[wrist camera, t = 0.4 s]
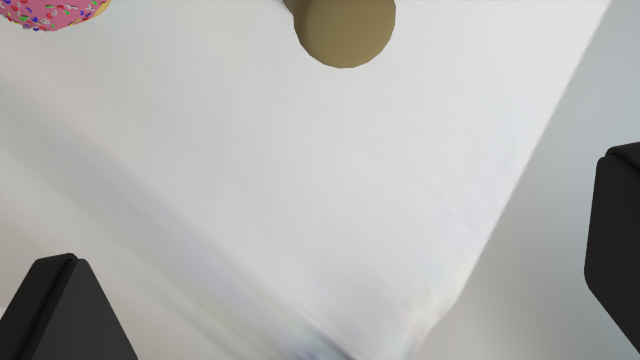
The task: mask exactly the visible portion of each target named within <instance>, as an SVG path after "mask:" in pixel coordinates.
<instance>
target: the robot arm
mask: <svg viewBox="0 0 640 360" xmlns="http://www.w3.org/2000/svg"><path fill="white" fill-rule="evenodd" d="M584 275H585V280H586V283H587V285H588V287H589V289H590V290H591V292H592V293H593V294H594V296H595V297H596V298H597V300H598V301H599V302H600V303H601V304H602V306H603V307H604V309H605V310H606V311H607V312H608V314H609V315H610V316H611V318H612V319H613V320H614V321H615V323H616V324H617V325H618V327H619V328H620V329H621V330H622V332H623V333H624V334H625V336H626V337H627V338H628V339H629V341H630V342H631V343H632V345H633V346H634V347H635V348H636V350H637V351H638V352H639V354H640V142H635V143H630V144H625V145H620V146H615V147H611V148H609V149H608V150H607V152H606V154H605V157H601V158H600V159H599V160H598V162H597V167H596V176H595V183H594V192H593V200H592V209H591V217H590V225H589V233H588V241H587V250H586V258H585V266H584ZM0 360H138V358H137V355H136V354H135V352H134V350H133V348H132V346H131V344H130V342H129V340H128V338H127V336H126V334H125V332H124V330H123V328H122V327H121V325H120V323H119V321H118V319H117V317H116V315H115V313H114V311H113V309H112V307H111V305H110V303H109V301H108V300H107V298H106V296H105V294H104V292H103V290H102V288H101V286H100V284H99V282H98V280H97V278H96V276H95V275H94V273H93V271H92V269H91V267H90V265H89V263H88V262H87V261H86V260H85V259H78V258H77V257H76V256H75V255H74V254H72V253H66V254H61V255H55V256H50V257H45V258H40V259H38V260H36V261H35V262H34V263H33V265H32V266H31V268H30V270H29V271H28V273H27V275H26V277H25V278H24V280H23V282H22V283H21V285H20V287H19V289H18V290H17V292H16V294H15V295H14V297H13V299H12V301H11V302H10V304H9V306H8V308H7V309H6V311H5V313H4V315H3V316H2V318H1V320H0Z"/></svg>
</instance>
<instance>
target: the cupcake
mask: <svg viewBox="0 0 640 360" xmlns="http://www.w3.org/2000/svg"><path fill="white" fill-rule="evenodd" d="M110 2H111V0H0V14H1V15H2V17H3V18H5V19H6V17H7V18H8V20H9V21H11V22H12V21H14V23H16V24H21V25H23V29H25V30H29V29H30V28H33V30H34V31H38V30H43V31H45V32H50V31H56V30H58V29H61V28H64V27H67V26H71V25H75V24H79V23H82V22H84V21H87V20H89V19H92V18H94V17H96V16H98V15H99V14H101V13H102V12H103V11H104V10H105V9H106V8H107V7H108V5H109V4H110ZM27 27H28V28H27Z"/></svg>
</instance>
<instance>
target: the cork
mask: <svg viewBox="0 0 640 360" xmlns="http://www.w3.org/2000/svg"><path fill="white" fill-rule="evenodd" d="M284 2H285V5H286V7H287V8H288V9H289V10H290V12H291V13H292V14H293V16H294V29H295V31H296V34H297V37H298V39H299V42H300V44H301V45H302V46H303V48H304V49H305V50H306V51H307V52H308V54H309V55H310V56H312V57H313V58H315V59H316V60H318V61H319V62H321V63H323V64H324V65H328V66H332V67H336V68H354V67H357V66H359V65H362V64H365V63H367V62H369V61H370V60H372V59H373V58H374V57H376V56H377V55H378V54H380V53H381V51H382V50H383V49H384V47H385V46H386V44H387V43H388V42H389V40H390V37H391V35H392V32H393V29H394V26H395V11H396V6H395V2H394V0H284Z"/></svg>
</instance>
